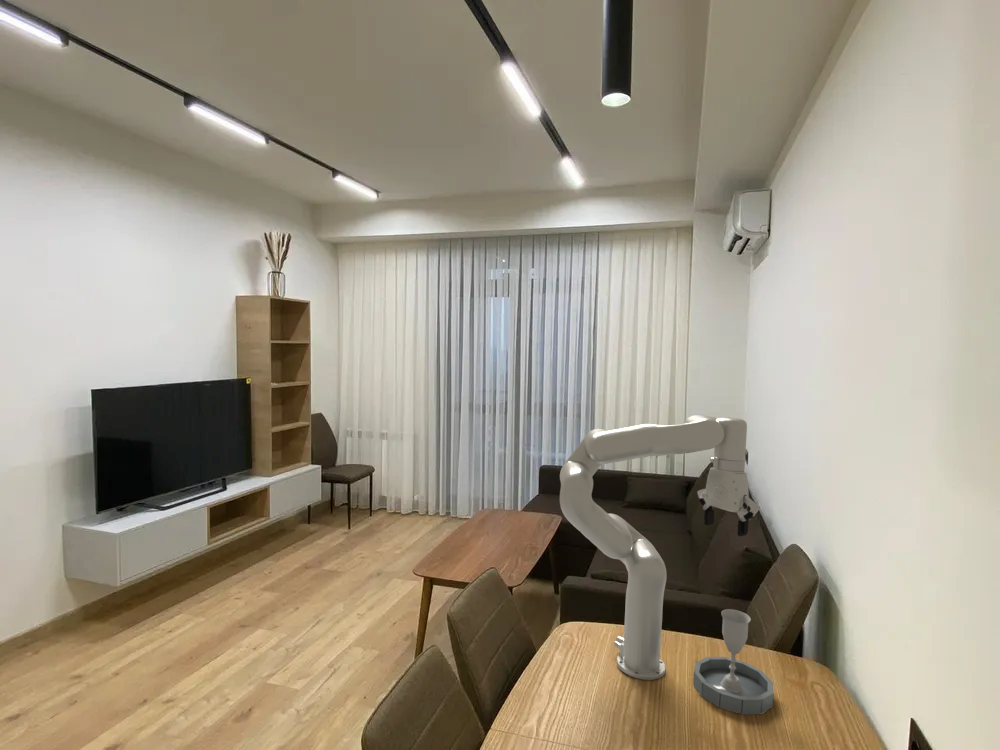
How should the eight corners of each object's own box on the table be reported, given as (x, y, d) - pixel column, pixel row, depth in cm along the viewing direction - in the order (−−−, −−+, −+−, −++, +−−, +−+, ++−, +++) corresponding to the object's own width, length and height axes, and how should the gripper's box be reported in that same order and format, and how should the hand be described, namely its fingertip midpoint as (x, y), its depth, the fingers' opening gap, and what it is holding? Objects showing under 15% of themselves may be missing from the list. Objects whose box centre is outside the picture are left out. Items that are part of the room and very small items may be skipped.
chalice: (749, 697, 132) (754, 624, 131) (719, 692, 133) (724, 620, 132) (742, 680, 139) (746, 611, 138) (714, 675, 140) (718, 607, 140)
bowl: (679, 682, 138) (679, 669, 138) (721, 662, 148) (721, 650, 148) (745, 724, 123) (746, 709, 123) (786, 698, 134) (787, 684, 134)
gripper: (691, 460, 147) (688, 522, 147) (751, 473, 132) (747, 542, 133) (708, 458, 151) (705, 518, 152) (768, 470, 137) (764, 537, 137)
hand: (725, 529), depth 142 cm, fingers open, 9 cm apart
